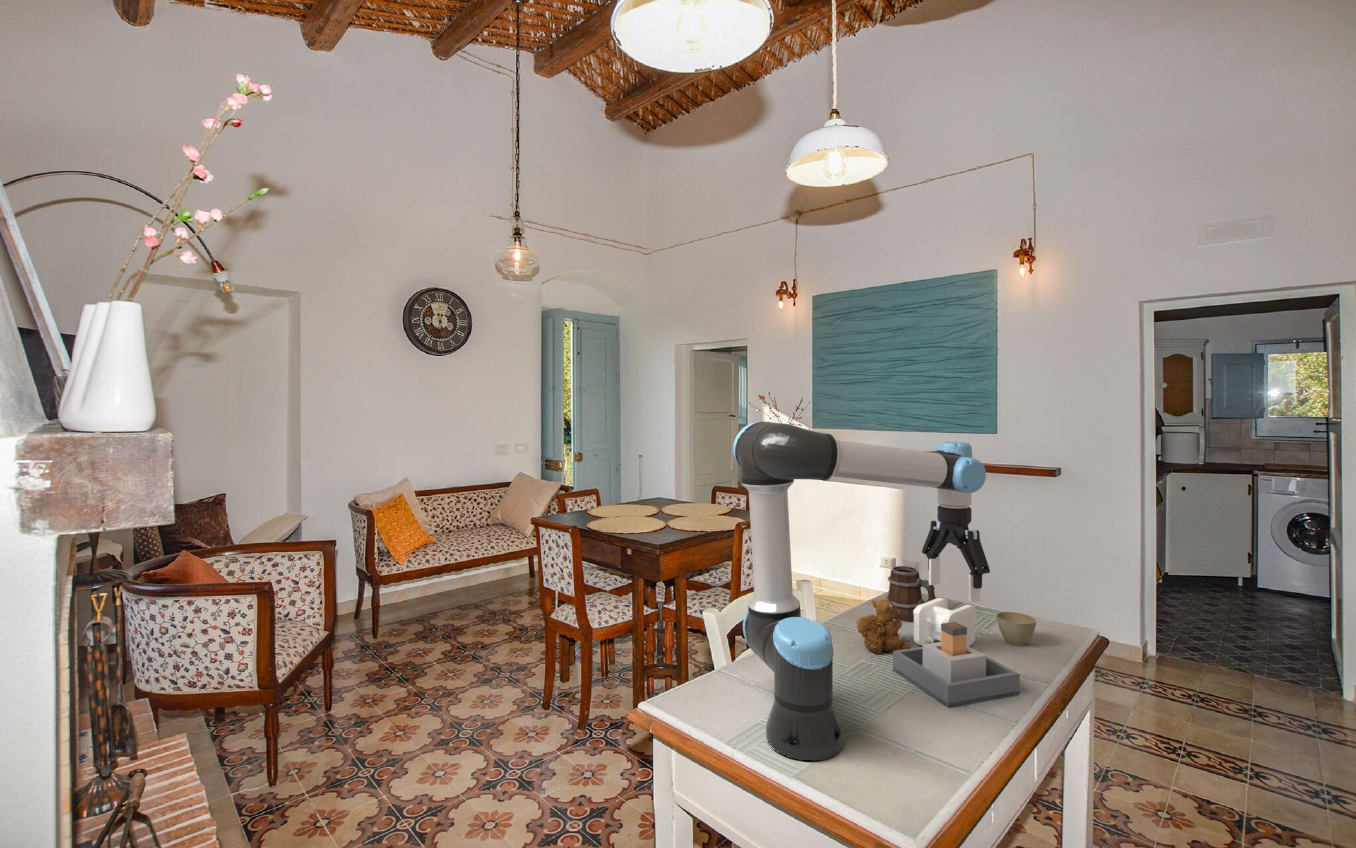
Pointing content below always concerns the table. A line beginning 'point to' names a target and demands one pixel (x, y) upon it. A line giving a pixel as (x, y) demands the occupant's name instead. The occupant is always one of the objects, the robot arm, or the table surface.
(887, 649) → the stuffed squirrel
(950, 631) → the plug
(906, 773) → the table surface
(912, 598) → the mug
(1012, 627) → the beige bowl
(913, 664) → the box
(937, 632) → the cable organizer
